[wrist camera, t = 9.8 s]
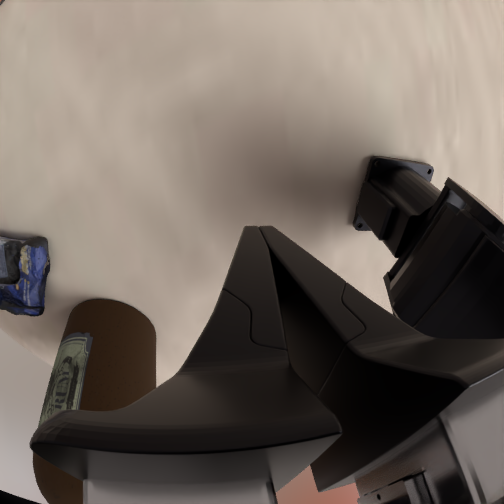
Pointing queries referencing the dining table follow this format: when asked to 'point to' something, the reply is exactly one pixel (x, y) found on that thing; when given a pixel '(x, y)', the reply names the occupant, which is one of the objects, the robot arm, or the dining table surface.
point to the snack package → (23, 275)
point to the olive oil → (96, 376)
